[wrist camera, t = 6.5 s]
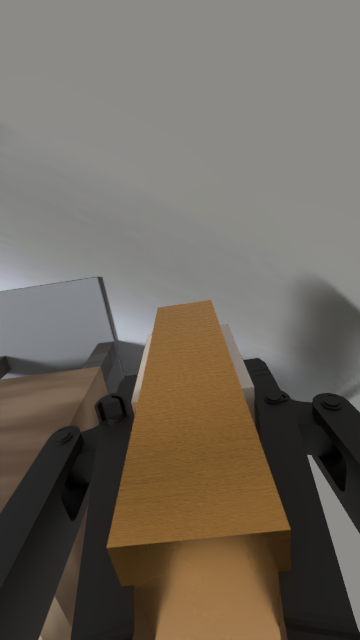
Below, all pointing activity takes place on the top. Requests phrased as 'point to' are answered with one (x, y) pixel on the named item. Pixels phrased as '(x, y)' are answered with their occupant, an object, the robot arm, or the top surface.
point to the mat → (55, 328)
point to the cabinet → (32, 433)
